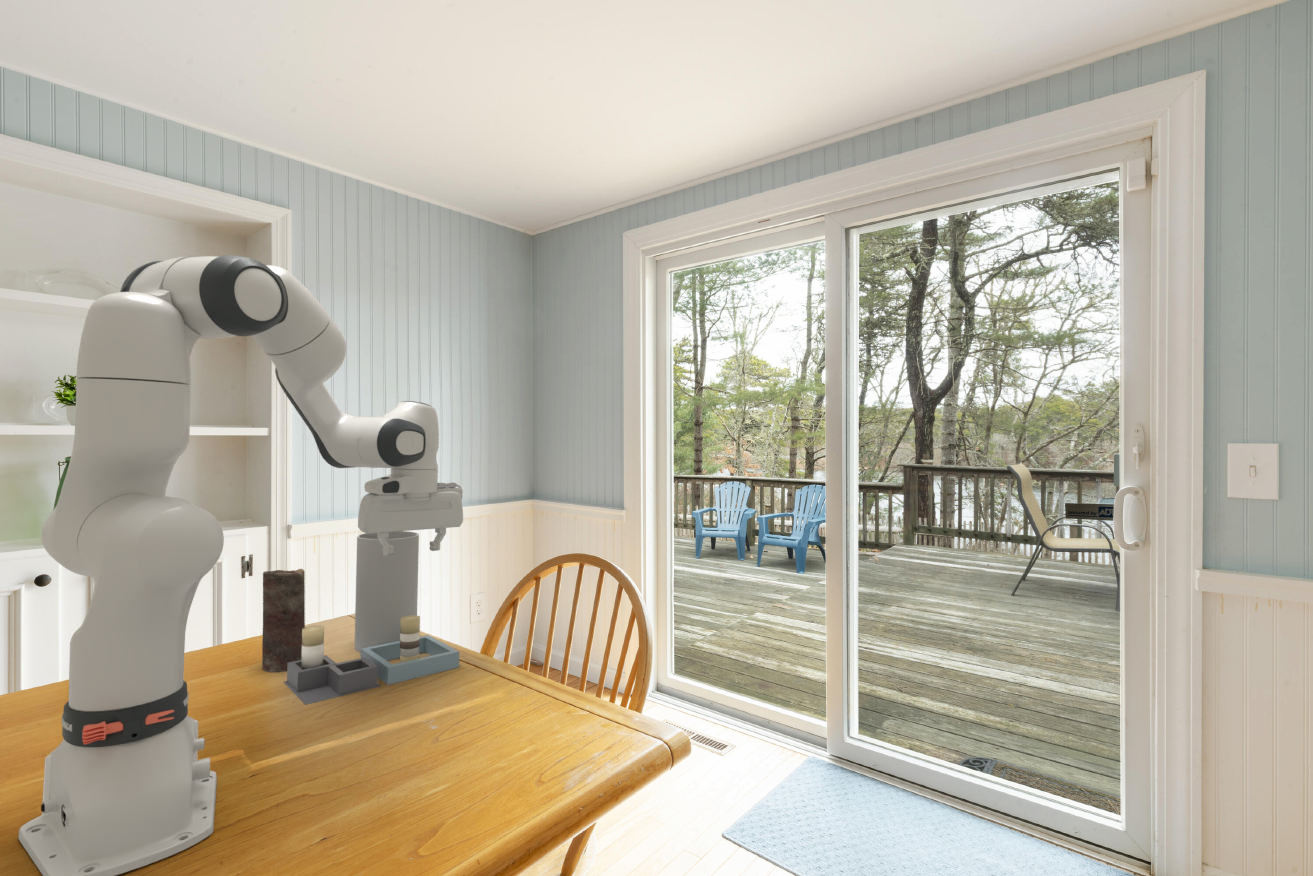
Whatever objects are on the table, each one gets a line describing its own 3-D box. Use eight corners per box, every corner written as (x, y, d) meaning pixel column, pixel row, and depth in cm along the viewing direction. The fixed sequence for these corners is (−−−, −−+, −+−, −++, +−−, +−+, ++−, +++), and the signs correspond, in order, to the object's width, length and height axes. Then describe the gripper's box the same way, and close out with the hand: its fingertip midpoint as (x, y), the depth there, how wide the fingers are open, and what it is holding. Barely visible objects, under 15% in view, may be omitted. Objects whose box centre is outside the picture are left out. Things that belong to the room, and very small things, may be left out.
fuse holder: (380, 691, 117) (381, 666, 117) (305, 710, 108) (305, 684, 108) (354, 671, 127) (355, 648, 127) (283, 687, 118) (283, 662, 118)
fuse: (325, 682, 118) (326, 628, 118) (304, 687, 115) (305, 632, 116) (319, 677, 121) (320, 624, 121) (298, 682, 118) (299, 627, 118)
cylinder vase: (341, 653, 137) (343, 536, 137) (386, 637, 148) (388, 529, 148) (385, 662, 132) (388, 541, 132) (428, 645, 144) (431, 533, 144)
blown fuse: (422, 668, 128) (423, 617, 128) (403, 672, 125) (405, 621, 125) (414, 663, 130) (415, 614, 130) (396, 667, 128) (397, 617, 128)
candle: (251, 674, 124) (254, 571, 124) (283, 662, 131) (286, 564, 131) (282, 679, 122) (285, 574, 122) (313, 666, 129) (316, 567, 129)
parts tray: (458, 672, 128) (459, 651, 128) (388, 690, 118) (388, 667, 118) (428, 654, 138) (428, 635, 138) (360, 669, 128) (360, 648, 128)
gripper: (455, 481, 137) (453, 545, 137) (356, 483, 123) (353, 555, 123) (469, 483, 133) (467, 549, 133) (368, 485, 119) (365, 560, 118)
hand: (412, 552), depth 128 cm, fingers open, 8 cm apart
